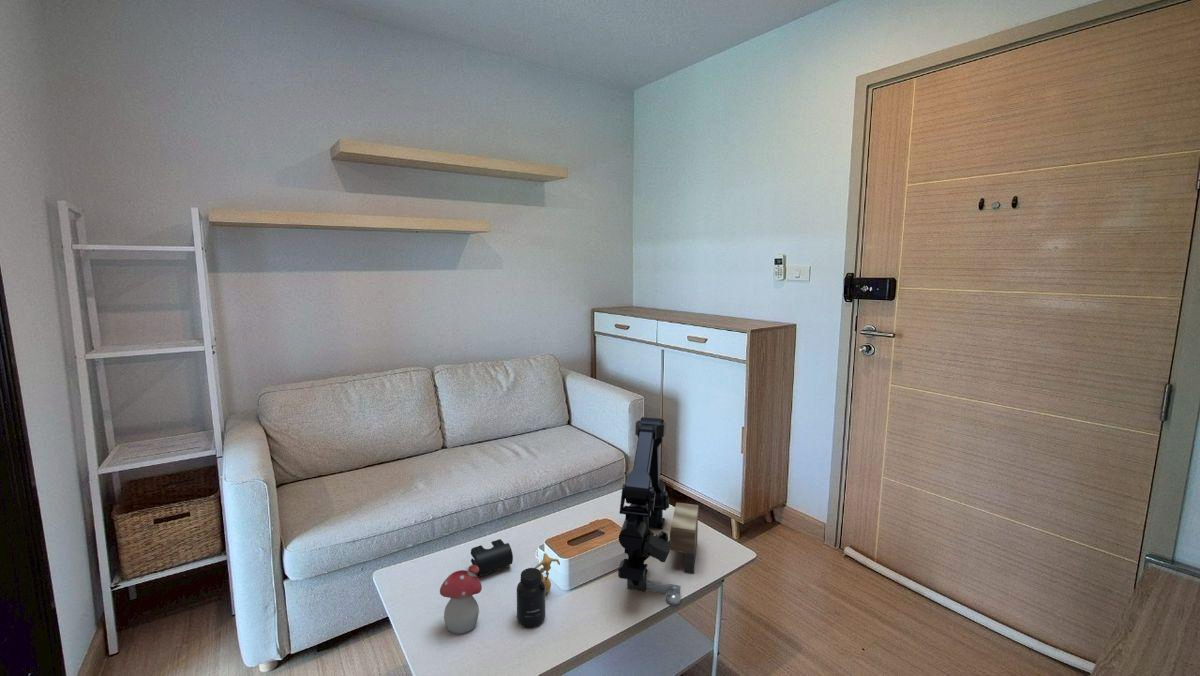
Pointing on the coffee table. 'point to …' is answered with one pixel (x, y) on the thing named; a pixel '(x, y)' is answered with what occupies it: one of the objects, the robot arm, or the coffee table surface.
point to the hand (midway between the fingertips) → (636, 582)
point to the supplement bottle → (530, 598)
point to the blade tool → (652, 585)
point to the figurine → (546, 567)
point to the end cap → (492, 557)
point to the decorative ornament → (461, 600)
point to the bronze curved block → (685, 533)
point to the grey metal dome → (673, 597)
